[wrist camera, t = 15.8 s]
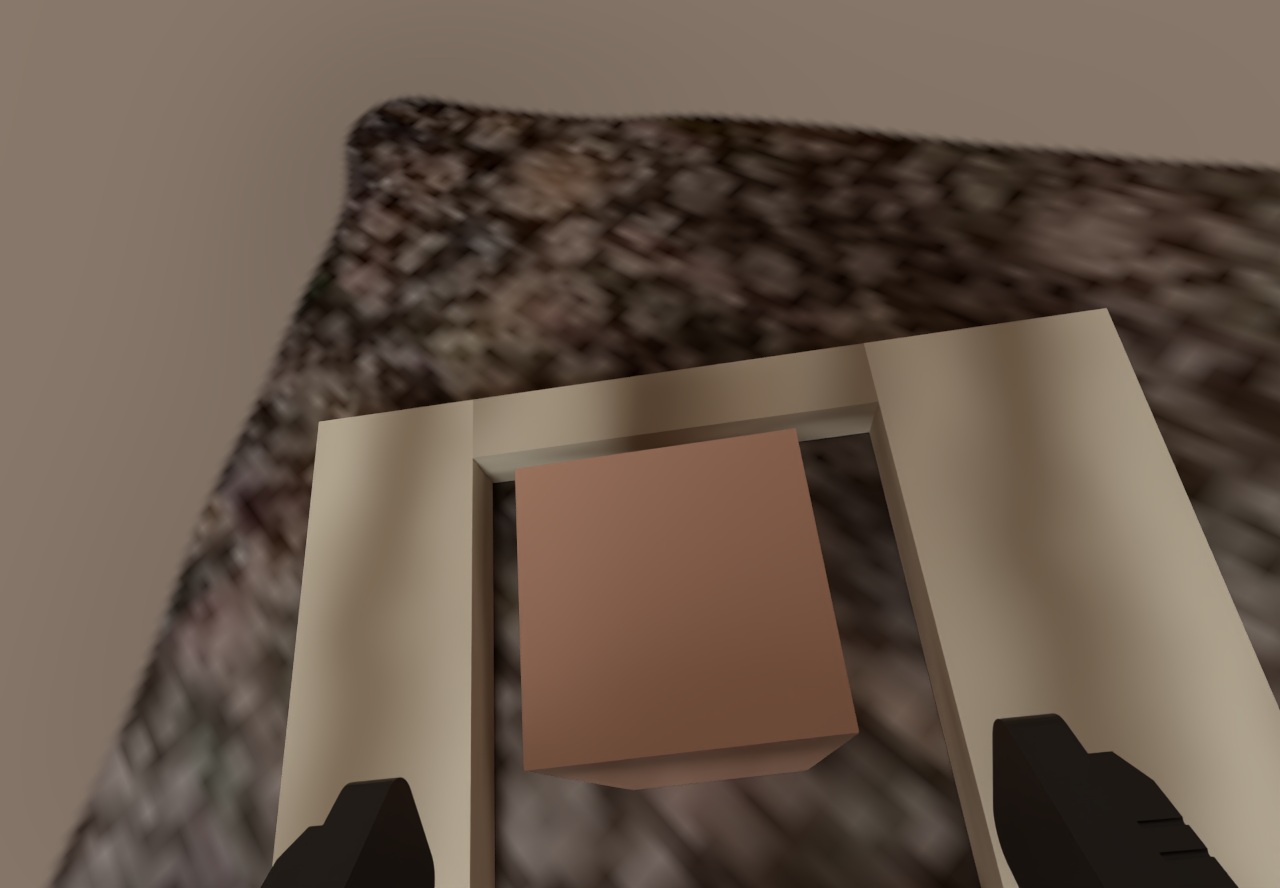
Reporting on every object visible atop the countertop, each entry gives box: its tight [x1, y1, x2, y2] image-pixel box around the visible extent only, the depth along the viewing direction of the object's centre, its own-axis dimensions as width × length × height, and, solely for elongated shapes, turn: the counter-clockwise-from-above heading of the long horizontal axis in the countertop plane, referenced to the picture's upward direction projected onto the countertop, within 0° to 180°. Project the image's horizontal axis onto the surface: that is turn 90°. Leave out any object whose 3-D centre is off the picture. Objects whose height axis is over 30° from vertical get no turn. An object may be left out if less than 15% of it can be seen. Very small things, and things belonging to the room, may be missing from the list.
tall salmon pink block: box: [515, 428, 859, 790], centre depth 16 cm, size 5×5×11 cm
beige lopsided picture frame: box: [272, 308, 1280, 888], centre depth 20 cm, size 24×18×2 cm
